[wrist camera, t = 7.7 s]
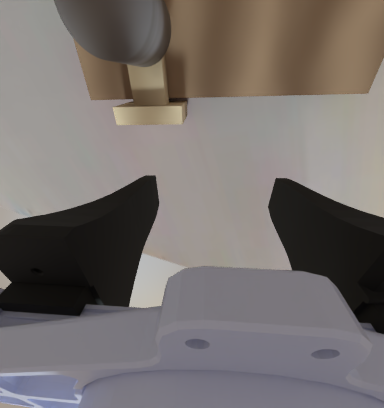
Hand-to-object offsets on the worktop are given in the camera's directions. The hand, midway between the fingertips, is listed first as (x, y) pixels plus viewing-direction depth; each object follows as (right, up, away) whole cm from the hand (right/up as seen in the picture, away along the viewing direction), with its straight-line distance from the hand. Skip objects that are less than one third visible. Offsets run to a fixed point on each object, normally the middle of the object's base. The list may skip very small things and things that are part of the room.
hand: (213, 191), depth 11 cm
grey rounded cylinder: (-4, +11, +3) cm, 12 cm away
